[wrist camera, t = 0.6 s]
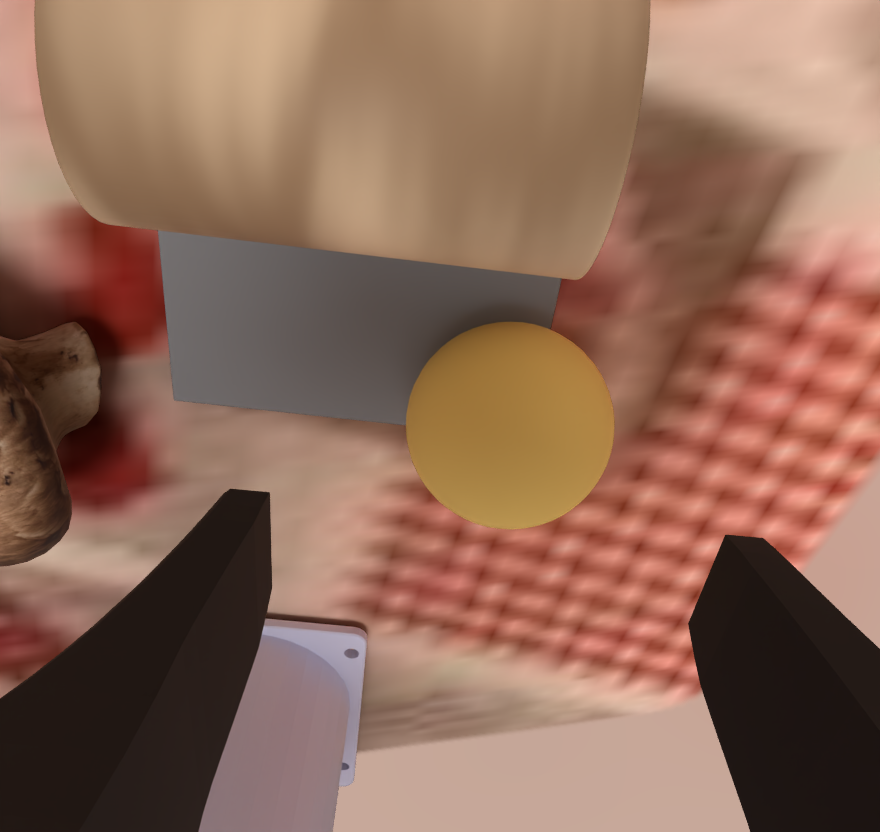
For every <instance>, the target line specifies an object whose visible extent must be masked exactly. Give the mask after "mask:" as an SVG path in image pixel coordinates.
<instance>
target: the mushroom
mask: <svg viewBox="0 0 880 832" xmlns="http://www.w3.org/2000/svg"><path fill="white" fill-rule="evenodd" d="M100 396H101V367H100V364H99V360H98V357H97V353H96V350H95V348H94V345H93V343H92V341H91V339H90V337H89V335H88V333H87V331H85V330H84V329H83V328H82V327H81V326H80V325H79V324H78V323H77V322H71V323H65V324H63V325H60V326H58V327H56V328H53V329H51V330H49V331H46V332H44V333H41V334H38V335H35V336H32V337H29V338H26V339H20V340H11V339H8V338H4V337H1V336H0V566H10V565H15V564H19V563H23V562H28V561H30V560H32V559H34V558H36V557H38V556H40V555H42V554H44V553H46V552H47V551H48V550H50V549H51V548H52V547H53V546H54V545H56V544H57V543H58V542H59V541H60V540H61V539H62V537H63V536H64V534H65V533H66V532H67V530H68V529H69V524H70V520H71V515H72V502H71V497H70V494H69V490H68V487H67V484H66V481H65V478H64V475H63V471H62V468H61V465H60V462H59V459H58V455H57V452H56V450H57V448H58V446H59V444H60V441H61V439H62V438H63V437H64V436H65V435H66V434H68V433H69V432H71V431H73V430H75V429H78V428H80V427H83V426H85V425H87V424H88V422H89V421H90V420H91V419H92V418H93V417H94V415H95V414H96V413H97V412H98V408H99V402H100Z"/></svg>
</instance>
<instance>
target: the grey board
mask: <svg viewBox="0 0 880 832" xmlns="http://www.w3.org/2000/svg"><path fill="white" fill-rule="evenodd" d="M158 236H159V246H160V257H161V268H162V278H163V289H164V300H165V311H166V321H167V332H168V343H169V353H170V364H171V375H172V386H173V396H174V400H175V401H184V402H193V403H203V404H212V405H221V406H230V407H240V408H249V409H258V410H268V411H277V412H286V413H295V414H305V415H314V416H323V417H332V418H342V419H351V420H360V421H370V422H379V423H388V424H397V425H406V413H407V408H408V403H409V398H410V395H411V392H412V389H413V386H414V384H415V382H416V380H417V378H418V376H419V375H420V373H421V371H422V369H423V368H424V366H425V365H426V363H427V362H428V361H429V359H430V358H431V357H432V356H433V355H434V354H435V353H436V352H437V351H438V350H439V349H440V348H441V347H442V346H444V345H445V344H446V343H447V342H449V341H450V340H451V339H453V338H455V337H456V336H458V335H460V334H461V333H464V332H466V331H468V330H470V329H473V328H476V327H479V326H482V325H486V324H491V323H497V322H524V323H530V324H535V325H538V326H542V327H545V328H548V329H551V325H552V320H553V316H554V311H555V307H556V302H557V298H558V293H559V289H560V284H561V280H562V278H555V277H547V276H538V275H530V274H521V273H513V272H504V271H496V270H488V269H479V268H471V267H462V266H454V265H445V264H437V263H429V262H420V261H412V260H403V259H395V258H386V257H378V256H370V255H361V254H353V253H344V252H336V251H327V250H319V249H311V248H302V247H294V246H285V245H277V244H268V243H260V242H252V241H243V240H235V239H226V238H218V237H209V236H201V235H193V234H184V233H176V232H167V231H159V230H158Z"/></svg>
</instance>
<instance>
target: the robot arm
mask: <svg viewBox="0 0 880 832" xmlns="http://www.w3.org/2000/svg"><path fill="white" fill-rule="evenodd" d="M271 590H272V564H271V522H270V492H259V491H248V490H237V489H229V490H228V491H227V492H225V493H224V494H223V495H222V496H221V497H220V498H219V500H218V501H217V502H216V503H215V504H214V505H213V507H212V508H211V509H210V510H209V511H208V512H207V513H206V515H205V516H204V517H203V518H202V519H201V520H200V521H199V522H198V523H197V525H196V526H195V527H194V528H193V529H192V530H191V531H190V532H189V533H188V534H187V535H186V537H185V538H184V539H183V540H182V541H181V542H180V543H179V544H178V545H177V546H176V547H175V548H174V549H173V550H172V551H171V552H170V553H169V554H168V555H167V556H166V557H165V558H164V559H163V560H162V561H161V562H160V564H159V565H158V566H157V567H156V568H155V569H154V570H153V571H152V572H151V573H150V574H149V575H148V576H147V577H146V578H145V579H144V580H143V581H142V582H141V583H140V584H139V585H137V586H136V587H135V588H134V589H133V590H132V591H131V592H130V593H129V594H128V595H127V596H126V597H125V598H123V599H122V600H121V601H120V602H119V603H118V604H117V605H116V606H115V607H114V608H112V609H111V610H110V611H109V612H108V613H107V614H106V615H105V616H104V617H103V618H101V619H100V620H99V621H98V622H97V623H96V624H95V625H94V626H93V627H91V628H90V629H89V630H88V631H87V632H86V633H84V634H83V635H82V636H81V637H80V638H78V639H77V640H76V641H75V642H74V643H72V644H71V645H70V646H69V647H68V648H66V649H65V650H64V651H63V652H61V653H60V654H59V655H58V656H56V657H55V658H54V659H53V660H51V661H50V662H49V663H47V664H46V665H45V666H44V667H42V668H41V669H40V670H38V671H37V672H36V673H35V674H33V675H32V676H31V677H29V678H28V679H27V680H25V681H24V682H23V683H21V684H20V685H18V686H17V687H16V688H14V689H13V690H11V691H10V692H9V693H7V694H6V695H4V696H3V697H2V698H0V832H333V825H334V818H335V811H336V803H337V796H338V789H339V786H348V785H350V784H351V783H353V781H354V774H355V764H356V753H357V743H358V732H359V722H360V711H361V700H362V690H363V679H364V669H365V658H366V648H367V634H366V633H365V631H364V630H362V629H360V628H357V627H351V626H340V625H330V624H319V623H308V622H298V621H287V620H277V619H266V613H267V609H268V604H269V599H270V595H271ZM688 625H689V630H690V636H691V641H692V646H693V652H694V657H695V662H696V667H697V671H698V676H699V680H700V685H701V688H702V691H703V694H704V697H705V700H706V703H707V706H708V709H709V712H710V715H711V718H712V721H713V724H714V727H715V729H716V733H717V736H718V739H719V742H720V745H721V747H722V750H723V753H724V756H725V759H726V762H727V765H728V768H729V771H730V774H731V776H732V779H733V782H734V785H735V788H736V791H737V794H738V797H739V799H740V802H741V805H742V808H743V811H744V814H745V817H746V820H747V823H748V826H749V829H750V832H880V649H879V648H878V647H877V646H876V645H875V644H874V643H873V642H872V641H871V640H870V639H869V638H867V637H866V636H865V635H864V634H863V633H862V632H861V631H860V630H859V629H858V628H857V627H856V626H855V625H854V624H852V623H851V621H849V620H848V619H847V618H846V617H845V616H844V615H843V614H842V613H841V612H840V611H839V610H838V609H837V608H836V607H835V606H834V605H833V604H832V603H831V602H830V601H829V600H828V599H827V598H826V597H825V596H824V595H822V593H821V592H820V591H818V590H817V589H816V588H815V587H814V586H813V585H812V584H811V583H810V582H809V581H808V580H807V579H806V578H805V577H804V576H803V575H802V574H801V573H800V572H799V571H798V570H797V569H796V568H795V567H794V566H793V565H792V564H791V563H790V562H789V561H788V560H786V559H785V558H784V557H783V556H782V555H781V554H780V553H779V552H778V551H777V550H776V549H775V548H774V547H773V546H771V545H770V544H769V543H768V542H767V541H766V540H765V539H763V538H756V537H745V536H735V535H725V537H724V539H723V542H722V544H721V546H720V549H719V551H718V554H717V556H716V558H715V561H714V563H713V566H712V568H711V570H710V573H709V575H708V578H707V580H706V582H705V585H704V587H703V590H702V592H701V594H700V597H699V599H698V602H697V604H696V606H695V609H694V611H693V614H692V616H691V618H690V621H689V623H688ZM352 649H354V650H352Z"/></svg>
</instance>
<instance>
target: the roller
mask: <svg viewBox="0 0 880 832" xmlns="http://www.w3.org/2000/svg"><path fill="white" fill-rule="evenodd" d="M34 17H35V49H36V62H37V72H38V79H39V87H40V94H41V99H42V104H43V109H44V115H45V120H46V123H47V127H48V131H49V135H50V139H51V142H52V145H53V148H54V151H55V154H56V157H57V160H58V163H59V165H60V168H61V170H62V172H63V175H64V177H65V179H66V181H67V183H68V185H69V187H70V189H71V190H72V192H73V194H74V196H75V197H76V199H77V200H78V201H79V203H80V204H81V206H82V207H83V208H84V209H85V210H86V211H87V212H88V213H89V214H90V215H91V216H92V217H94V218H95V219H97V220H98V221H100V222H102V223H105V224H108V225H117V226H125V227H134V228H142V229H150V230H159V231H167V232H176V233H184V234H193V235H201V236H209V237H218V238H226V239H235V240H243V241H252V242H260V243H268V244H277V245H285V246H294V247H302V248H311V249H319V250H327V251H336V252H344V253H353V254H361V255H370V256H378V257H386V258H395V259H403V260H412V261H420V262H429V263H437V264H445V265H454V266H462V267H471V268H479V269H488V270H496V271H504V272H513V273H521V274H530V275H538V276H547V277H555V278H563V279H572V280H578V279H581V278H582V277H583V276H584V275H585V274H586V273H587V272H588V271H589V269H590V268H591V266H592V265H593V263H594V261H595V260H596V258H597V256H598V254H599V251H600V249H601V247H602V245H603V243H604V240H605V238H606V235H607V233H608V230H609V227H610V224H611V222H612V219H613V216H614V213H615V210H616V207H617V203H618V200H619V197H620V193H621V190H622V186H623V182H624V179H625V175H626V171H627V167H628V163H629V159H630V155H631V150H632V146H633V141H634V136H635V131H636V127H637V122H638V116H639V110H640V105H641V99H642V93H643V86H644V79H645V71H646V63H647V53H648V44H649V28H650V0H35V11H34Z"/></svg>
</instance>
